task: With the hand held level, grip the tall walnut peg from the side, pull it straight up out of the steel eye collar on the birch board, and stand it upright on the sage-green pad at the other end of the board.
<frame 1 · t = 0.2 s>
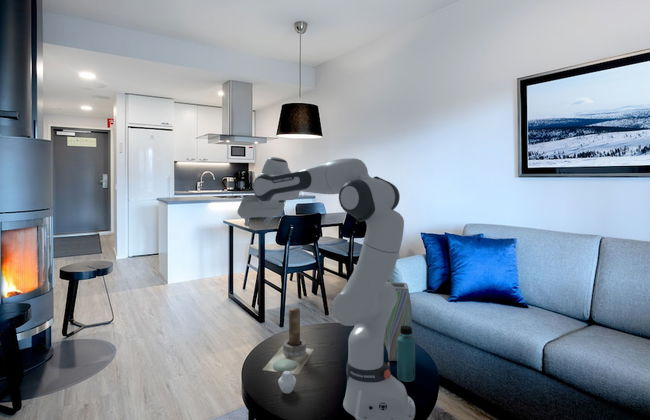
hand: (256, 225, 154), 54 cm above the table, tool tilted 30°, fingers open, 8 cm apart
sage pad: (284, 365, 143), resting on birch board
walnut peg: (294, 352, 155), point 1 cm above the table, touching birch board
vase: (394, 358, 153), on the table
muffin: (287, 391, 128), on the table
birch board: (289, 362, 149), on the table
beverage bottle: (405, 382, 134), on the table
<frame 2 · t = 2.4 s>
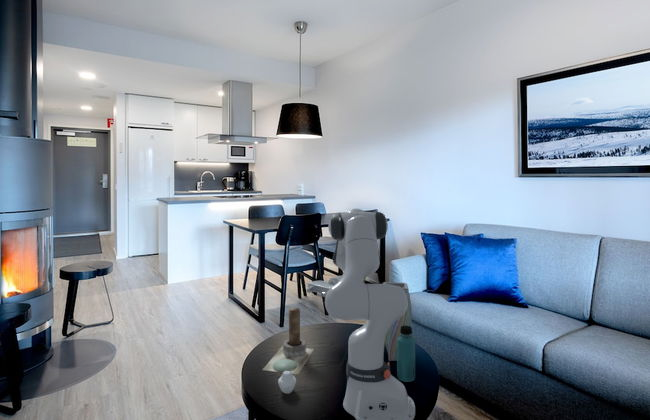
hand: (315, 292, 162), 24 cm above the table, tool horizontal, fingers open, 8 cm apart
nothing on the table moved.
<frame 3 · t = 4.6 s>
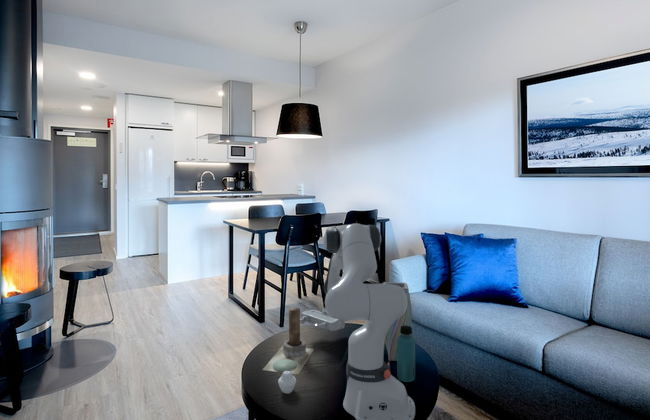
hand: (307, 324, 159), 11 cm above the table, tool horizontal, fingers open, 8 cm apart
nothing on the table moved.
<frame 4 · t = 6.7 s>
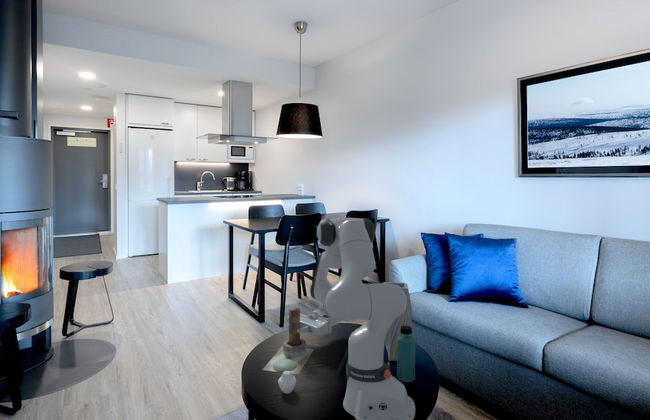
hand: (292, 329, 153), 12 cm above the table, tool horizontal, fingers closed on walnut peg, 4 cm apart
walnut peg: (294, 352, 155), point 2 cm above the table, touching birch board, gripper
everything else where it was.
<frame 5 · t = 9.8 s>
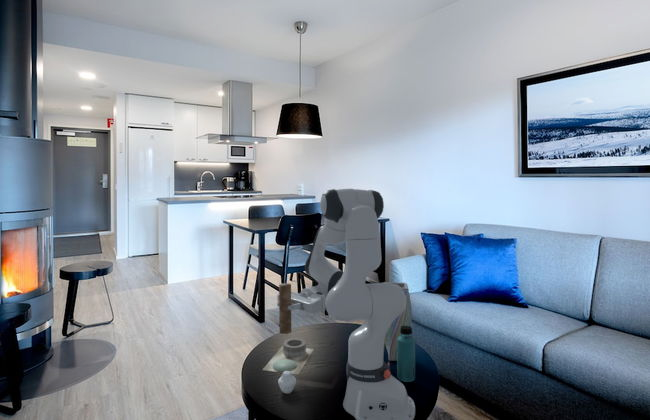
hand: (283, 306, 142), 25 cm above the table, tool horizontal, fingers closed on walnut peg, 4 cm apart
walnut peg: (285, 331, 143), point 15 cm above the table, touching gripper
everything else where it was.
when the fingers open (13 cm above the table, at t = 13.0 s): walnut peg drops 1 cm, resting on sage pad.
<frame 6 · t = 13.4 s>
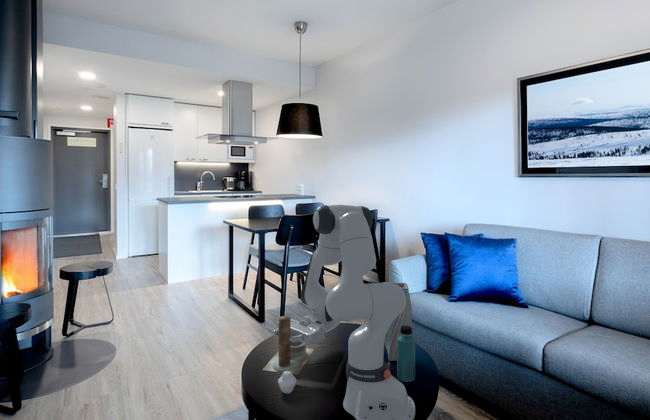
hand: (282, 336, 142), 13 cm above the table, tool horizontal, fingers open, 8 cm apart
walnut peg: (284, 364, 143), point 2 cm above the table, touching sage pad
everything else where it was.
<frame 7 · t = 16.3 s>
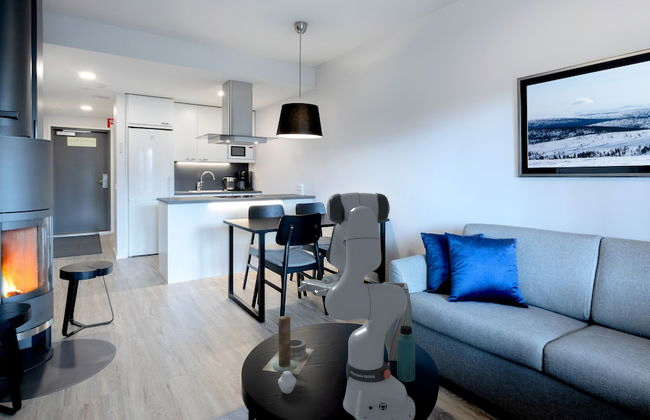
hand: (307, 291, 150), 28 cm above the table, tool horizontal, fingers open, 8 cm apart
nothing on the table moved.
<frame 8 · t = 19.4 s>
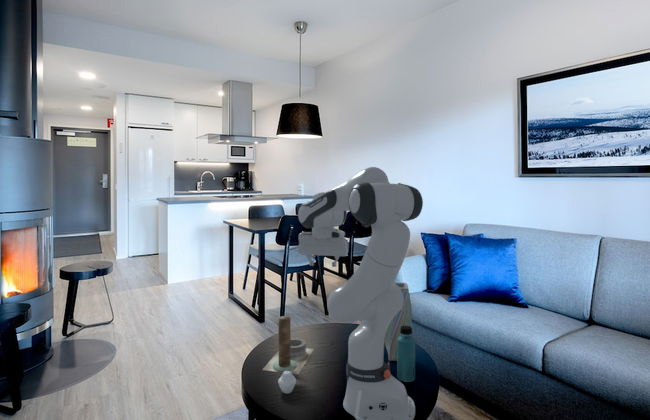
hand: (322, 266, 154), 37 cm above the table, tool pointing down, fingers open, 8 cm apart
nothing on the table moved.
at the end: walnut peg 0.0 cm off-centre on the sage pad, point 0.5 cm above the sage pad's base; walnut peg tilted 0°; the gripper is holding nothing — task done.
